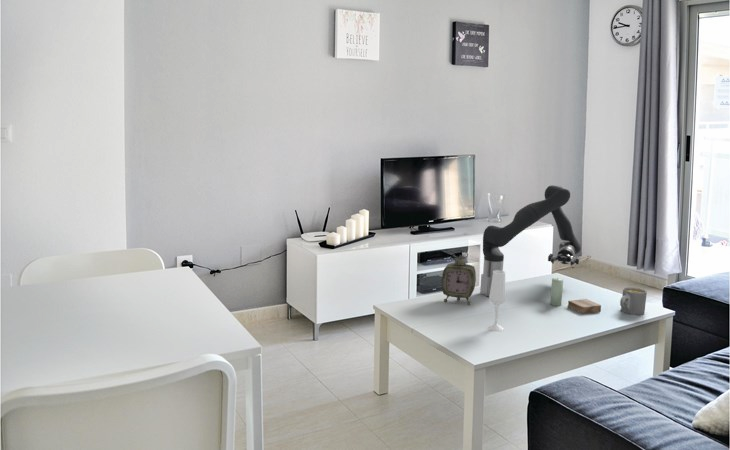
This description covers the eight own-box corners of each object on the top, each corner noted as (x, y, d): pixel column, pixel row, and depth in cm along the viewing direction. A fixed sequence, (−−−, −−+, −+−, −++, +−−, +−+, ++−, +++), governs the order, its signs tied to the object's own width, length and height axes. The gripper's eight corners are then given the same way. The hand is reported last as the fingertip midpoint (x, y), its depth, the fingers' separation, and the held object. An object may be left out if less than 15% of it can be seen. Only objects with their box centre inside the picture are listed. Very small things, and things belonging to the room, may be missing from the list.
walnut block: (582, 313, 295) (583, 307, 295) (567, 307, 304) (568, 300, 304) (600, 311, 299) (601, 305, 298) (585, 305, 308) (586, 298, 307)
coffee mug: (633, 307, 307) (635, 286, 305) (649, 313, 298) (651, 292, 296) (609, 309, 302) (612, 288, 301) (625, 316, 293) (627, 294, 291)
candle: (554, 306, 304) (556, 279, 302) (547, 303, 309) (550, 276, 307) (563, 305, 306) (565, 278, 304) (556, 302, 311) (558, 276, 308)
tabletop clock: (440, 303, 305) (443, 250, 300) (444, 297, 314) (446, 245, 309) (472, 306, 301) (475, 253, 296) (474, 301, 310) (478, 248, 305)
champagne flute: (507, 329, 273) (511, 272, 268) (495, 332, 269) (499, 274, 264) (495, 324, 278) (498, 268, 274) (483, 327, 274) (487, 271, 270)
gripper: (551, 246, 331) (547, 253, 316) (581, 249, 326) (578, 256, 311) (550, 260, 333) (546, 268, 318) (580, 263, 327) (577, 271, 312)
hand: (562, 262), depth 314 cm, fingers open, 8 cm apart
